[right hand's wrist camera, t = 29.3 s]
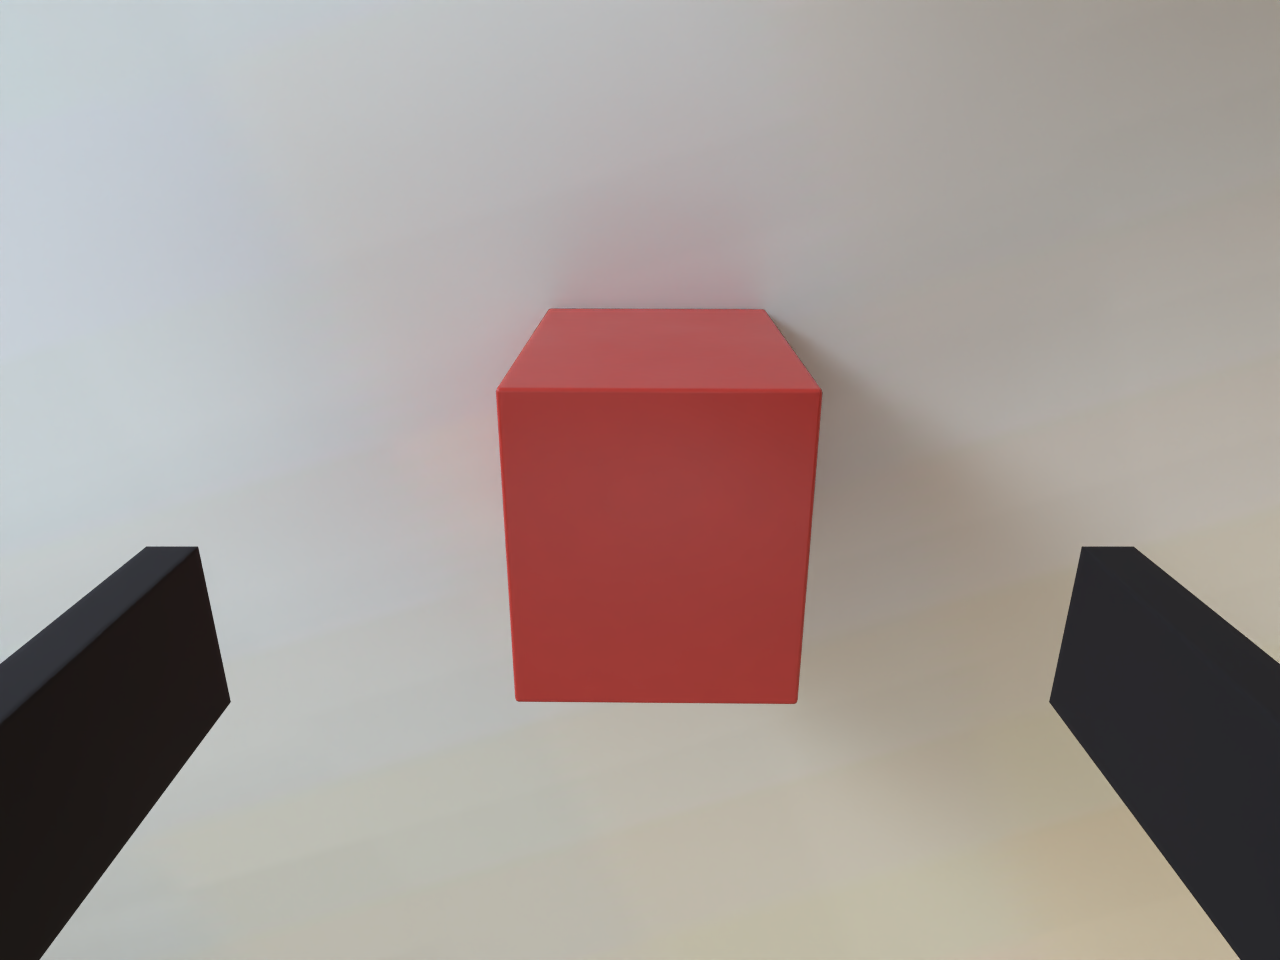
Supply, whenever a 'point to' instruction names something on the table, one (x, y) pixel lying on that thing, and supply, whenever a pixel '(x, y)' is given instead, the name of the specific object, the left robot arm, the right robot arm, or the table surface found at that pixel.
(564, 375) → the block
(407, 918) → the table surface
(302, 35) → the table surface
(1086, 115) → the table surface
